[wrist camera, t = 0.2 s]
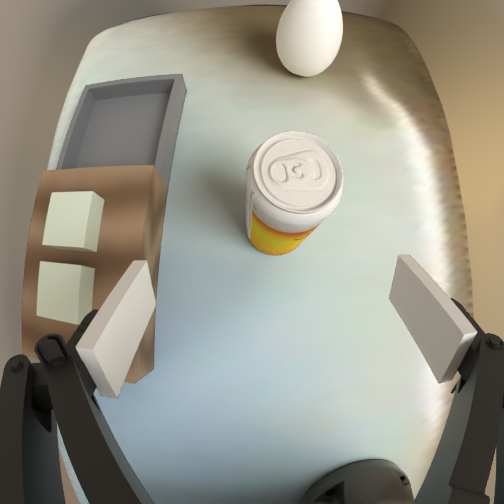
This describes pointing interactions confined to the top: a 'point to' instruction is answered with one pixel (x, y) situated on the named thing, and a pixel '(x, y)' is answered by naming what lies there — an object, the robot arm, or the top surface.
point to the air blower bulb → (309, 35)
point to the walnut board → (100, 246)
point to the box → (126, 124)
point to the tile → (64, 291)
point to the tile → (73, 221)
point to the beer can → (290, 190)
